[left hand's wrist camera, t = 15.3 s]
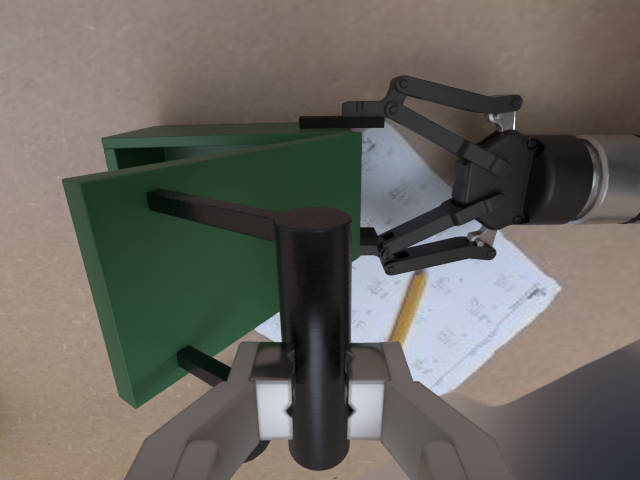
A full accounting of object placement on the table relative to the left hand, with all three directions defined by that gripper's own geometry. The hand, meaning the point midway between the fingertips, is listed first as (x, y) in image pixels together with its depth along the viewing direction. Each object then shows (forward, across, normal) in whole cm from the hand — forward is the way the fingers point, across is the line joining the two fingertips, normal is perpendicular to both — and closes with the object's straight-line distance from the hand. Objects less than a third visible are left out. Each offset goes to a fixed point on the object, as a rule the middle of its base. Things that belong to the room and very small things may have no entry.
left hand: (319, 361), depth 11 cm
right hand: (+23, +2, 0) cm, 23 cm away
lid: (+11, +3, 0) cm, 11 cm away
